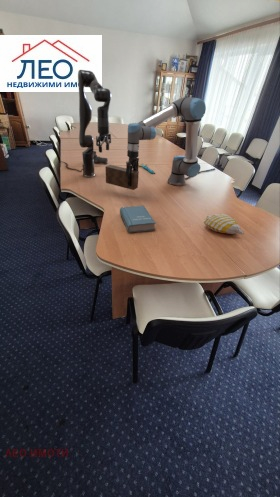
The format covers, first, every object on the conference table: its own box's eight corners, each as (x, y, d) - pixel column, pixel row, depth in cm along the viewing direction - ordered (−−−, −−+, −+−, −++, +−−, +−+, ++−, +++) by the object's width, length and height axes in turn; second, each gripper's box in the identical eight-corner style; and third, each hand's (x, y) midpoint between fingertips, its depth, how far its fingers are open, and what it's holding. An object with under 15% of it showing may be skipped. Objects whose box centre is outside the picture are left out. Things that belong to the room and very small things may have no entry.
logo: (136, 163, 238) (136, 163, 238) (145, 163, 241) (145, 162, 240) (146, 174, 213) (146, 173, 212) (155, 173, 215) (155, 172, 215)
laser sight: (105, 165, 227) (104, 155, 221) (84, 162, 230) (83, 152, 224) (108, 162, 235) (108, 152, 229) (88, 160, 238) (87, 150, 232)
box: (105, 182, 166) (105, 166, 159) (110, 180, 171) (110, 164, 163) (133, 190, 158) (134, 173, 151) (137, 187, 162) (138, 171, 155)
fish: (254, 225, 128) (232, 232, 118) (249, 236, 132) (228, 244, 123) (221, 208, 144) (199, 213, 134) (217, 218, 149) (196, 224, 139)
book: (154, 230, 131) (155, 222, 128) (128, 232, 126) (128, 225, 124) (143, 212, 148) (143, 205, 145) (119, 214, 144) (120, 207, 141)
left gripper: (104, 123, 153) (105, 148, 162) (92, 125, 142) (93, 152, 152) (114, 125, 150) (114, 150, 160) (101, 127, 140) (102, 154, 150)
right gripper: (130, 154, 138) (129, 189, 151) (144, 148, 151) (142, 181, 165) (120, 152, 140) (120, 187, 154) (135, 146, 154) (133, 179, 168)
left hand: (104, 151), depth 156 cm, fingers open, 8 cm apart
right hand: (131, 184), depth 160 cm, fingers closed on box, 6 cm apart
